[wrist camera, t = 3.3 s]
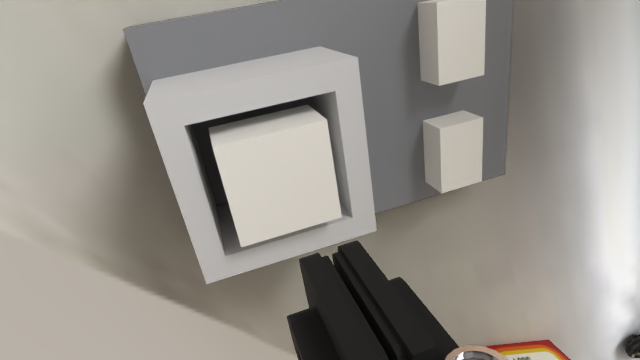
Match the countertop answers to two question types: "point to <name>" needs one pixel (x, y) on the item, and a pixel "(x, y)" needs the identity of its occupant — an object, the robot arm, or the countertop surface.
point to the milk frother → (634, 347)
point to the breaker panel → (329, 105)
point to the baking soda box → (530, 351)
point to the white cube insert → (277, 172)
